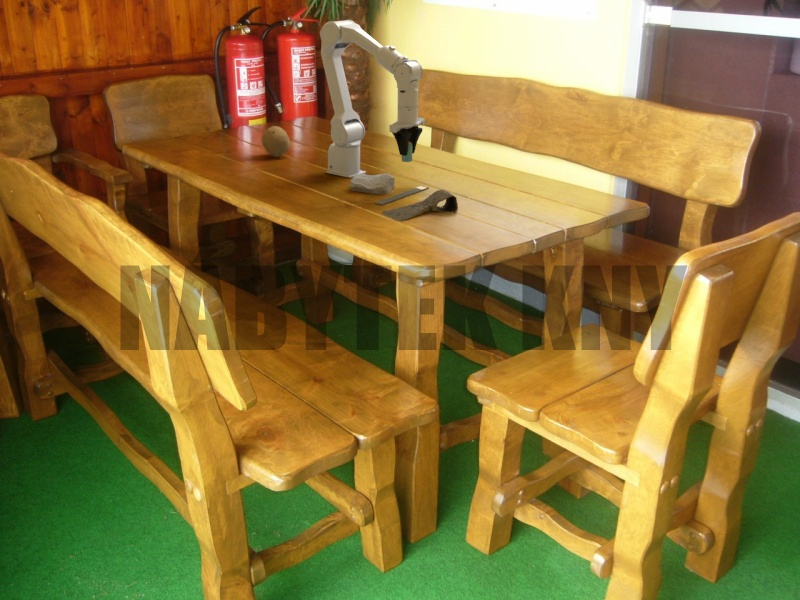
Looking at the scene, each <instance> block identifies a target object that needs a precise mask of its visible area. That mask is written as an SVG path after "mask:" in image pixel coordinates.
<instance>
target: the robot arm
mask: <svg viewBox="0 0 800 600" xmlns="http://www.w3.org/2000/svg"><path fill="white" fill-rule="evenodd" d="M319 36H320V40H321V48H320V56H321V60H322V64H323V69H324V73H325V78H326V82H327V86H328V91H329V94H330V95H329V96H330V98H331V99H330V100H331V103H332V108H333V112H334V114H333V116H332V118H331V119H330V123H329V124H330V126H331V128H330V137H331V140H332V142H333V143H330V145H329V146H328V147H329V148H328V149H327V150H328V151H327V170H326V171H325V172H326V173H327V174H331V175H335V176H338V177H339V176H340V177H344V178H349V179H350V178H353V177H355V176H357V175H359V174H360V173H364V174H366V173H367V171H366V170H362V169H361V144H362V140H363V139H364V137H365V135H366V128H365V125H364V124H363V122H362V121H361V118H360V115H359V113H357V112H356V111H355V110H354V109H353V104H352V99H351V97H350V95H351V94H350V91H349V86H348V82H347V77H346V73H345V68H344V66H343V65H344V64H343V59H342V55H343V53H344V52H345V50H346V49H347V48H348V47H349V46H350V45H351V44H355V45H357V46H358V47H360V48H361V49H363V50H365V51H366V52H368V53H370V55H372V56H374V57H375V59H376V63H377V64H378V65H380V66H381V67H383V69H384V70H386V71H387V72H389V73H390V74H391V75H393V78H394V80H395V82H396V88H397V115H396V117H397V120H396V121H395V122H394V123H391V124H389V125H388V127H389V129H388V130H389V132H390V133H392V135H393V137H394V138H395V142H396V144H397V148H398V152H399V155H400V156H402V155H404V156H406V155H407V153H408V144H409V142H411V143H412V154H415V151H416V148H417V143H418V140H419V138H420V136H421V134H422V132H423V127H420V126H425V123H426V119H425V118H423V117H419V111H418V110H419V81H420V80H421V79H422V77H423V72H424V71H423V67H422V65H421V64H420V63H419V62H418V60H417V59H411V60H409V57H408V56H407V55H403V54H402V53H400V52H399V51H397V47H396V46H394V45H388V44H387V45H382V44H381V43H379V42H378V41H377V40H376V39H374V38H373V37H372V36H371V35H369V34H368V33H367V32H366V31H365V30H364V29H362V27H361V25H360V24H358V23H355V21H353V20H351V19H345V20H337V21H336V20H335V21H333V20H330V21H327V22H325V23H324V25H323V26H322V28H321V29H320V30H319Z"/></svg>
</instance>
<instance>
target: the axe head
mask: <svg viewBox="0 0 800 600" xmlns="http://www.w3.org/2000/svg"><path fill="white" fill-rule="evenodd" d="M444 201H445V203H444V205H442V206H441V207H440V206H438V204H439V203H440V202H444ZM458 210H459V205H458V200H457V196H455V195H454V194H453V193H451V192H450V191H447V190H446V189H439V190H435V191H434V192H433V193H431V194H430V195H429V196H427V197H426V198H425V199H422V200H421V201H418V202H415V203H411V204H408V205H403V206H400V207H397V208H392V209H389V210H384V211H381V214H382V215H384V216H385V217H388V218H391V219H392V220H395V221H398V222H406V221H407V220H411V219H412V218H415V217H417V216H419V215H422V214H423V213H425V212H428V211H433V212H434V211H435V212H439V213H444V214H446V213H457V212H458Z"/></svg>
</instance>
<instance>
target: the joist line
mask: <svg viewBox="0 0 800 600" xmlns="http://www.w3.org/2000/svg"><path fill="white" fill-rule="evenodd" d="M428 189H430V187H428V186H424V185H422V186H421V185H420V186H419V185H418V186H416V187H414V188H412V189H409V190H406V191H403V192H401V193H397V194H395V195H392V196H390V197H386V198H384V199H381V200H377V201H375V202H374V204H375V205H380V206H384V205H387V204H389V203H393V202H395V201H398V200H400V199H403V198H406V197H410V196H412V195H414V194H418V193H420V192H423V191H426V190H428Z"/></svg>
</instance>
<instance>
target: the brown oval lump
mask: <svg viewBox="0 0 800 600" xmlns="http://www.w3.org/2000/svg"><path fill="white" fill-rule="evenodd" d="M261 143H262V146H263V148H264V149H265V150H266V151H267V153H268V154H269V155H271V156H272V158H280V157H282V156H283V155H284V154H287V153H288V152H289V151H290V149H291V141H290V138H289V135H288V133H287V131H286V130H285V129H283V128H282V127H280V126H277V125H272V126H270V127H268V128H267V129H266V130H265V131H264V132H263V133H262V137H261Z"/></svg>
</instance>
